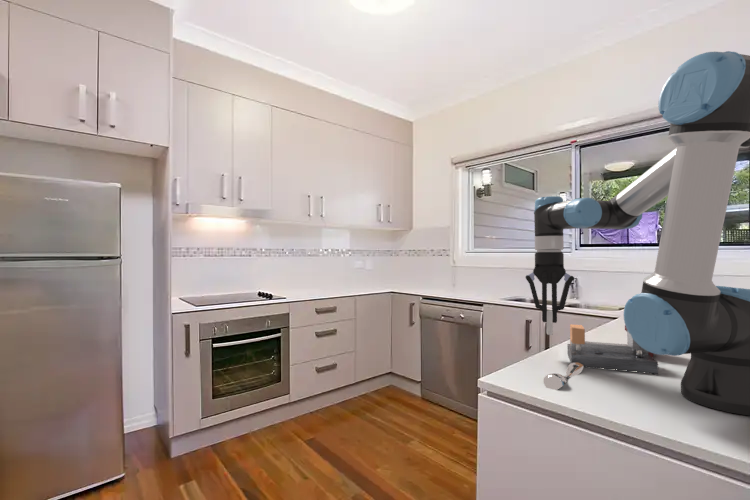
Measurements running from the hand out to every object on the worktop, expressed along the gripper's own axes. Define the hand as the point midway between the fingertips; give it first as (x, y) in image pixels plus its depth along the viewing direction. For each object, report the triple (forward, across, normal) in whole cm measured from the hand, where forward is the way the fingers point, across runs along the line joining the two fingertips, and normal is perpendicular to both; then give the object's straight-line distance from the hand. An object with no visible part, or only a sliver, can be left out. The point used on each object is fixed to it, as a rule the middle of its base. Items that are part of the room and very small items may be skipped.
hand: (549, 333), depth 110 cm
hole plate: (+7, -14, 0) cm, 16 cm away
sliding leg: (+4, -7, 0) cm, 8 cm away
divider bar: (+4, -15, 0) cm, 15 cm away
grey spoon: (+8, -3, +18) cm, 20 cm away
